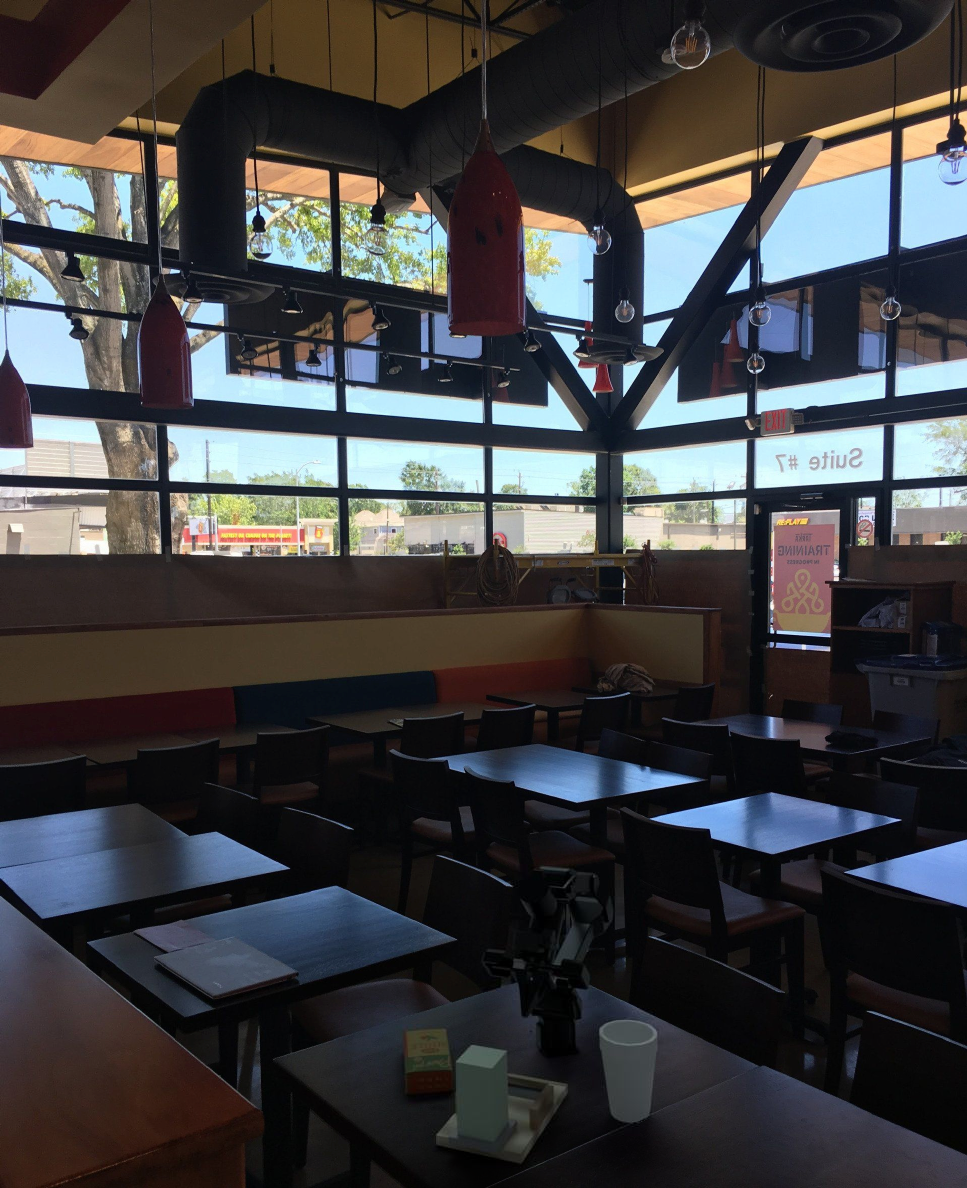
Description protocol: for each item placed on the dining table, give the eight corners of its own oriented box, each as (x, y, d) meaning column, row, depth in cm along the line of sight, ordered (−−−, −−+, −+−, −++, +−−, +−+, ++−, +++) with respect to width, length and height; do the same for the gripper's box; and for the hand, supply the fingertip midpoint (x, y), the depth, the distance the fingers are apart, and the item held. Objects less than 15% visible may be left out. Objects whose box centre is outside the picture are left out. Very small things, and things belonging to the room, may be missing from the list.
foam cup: (663, 1102, 160) (661, 1023, 160) (654, 1131, 151) (652, 1048, 151) (607, 1093, 163) (605, 1016, 163) (595, 1122, 154) (593, 1040, 154)
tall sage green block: (470, 1116, 153) (468, 1040, 153) (517, 1126, 150) (515, 1049, 150) (448, 1142, 146) (446, 1063, 146) (497, 1153, 143) (495, 1072, 143)
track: (491, 1078, 169) (491, 1052, 169) (567, 1092, 163) (567, 1066, 163) (436, 1144, 149) (435, 1115, 149) (521, 1163, 143) (520, 1133, 143)
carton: (447, 1049, 181) (447, 1027, 181) (454, 1093, 165) (454, 1068, 165) (402, 1052, 180) (402, 1029, 180) (405, 1096, 164) (405, 1071, 164)
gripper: (483, 903, 173) (459, 988, 163) (583, 915, 166) (564, 1004, 156) (501, 933, 181) (479, 1016, 170) (597, 945, 173) (580, 1032, 163)
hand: (524, 1016), depth 165 cm, fingers closed
